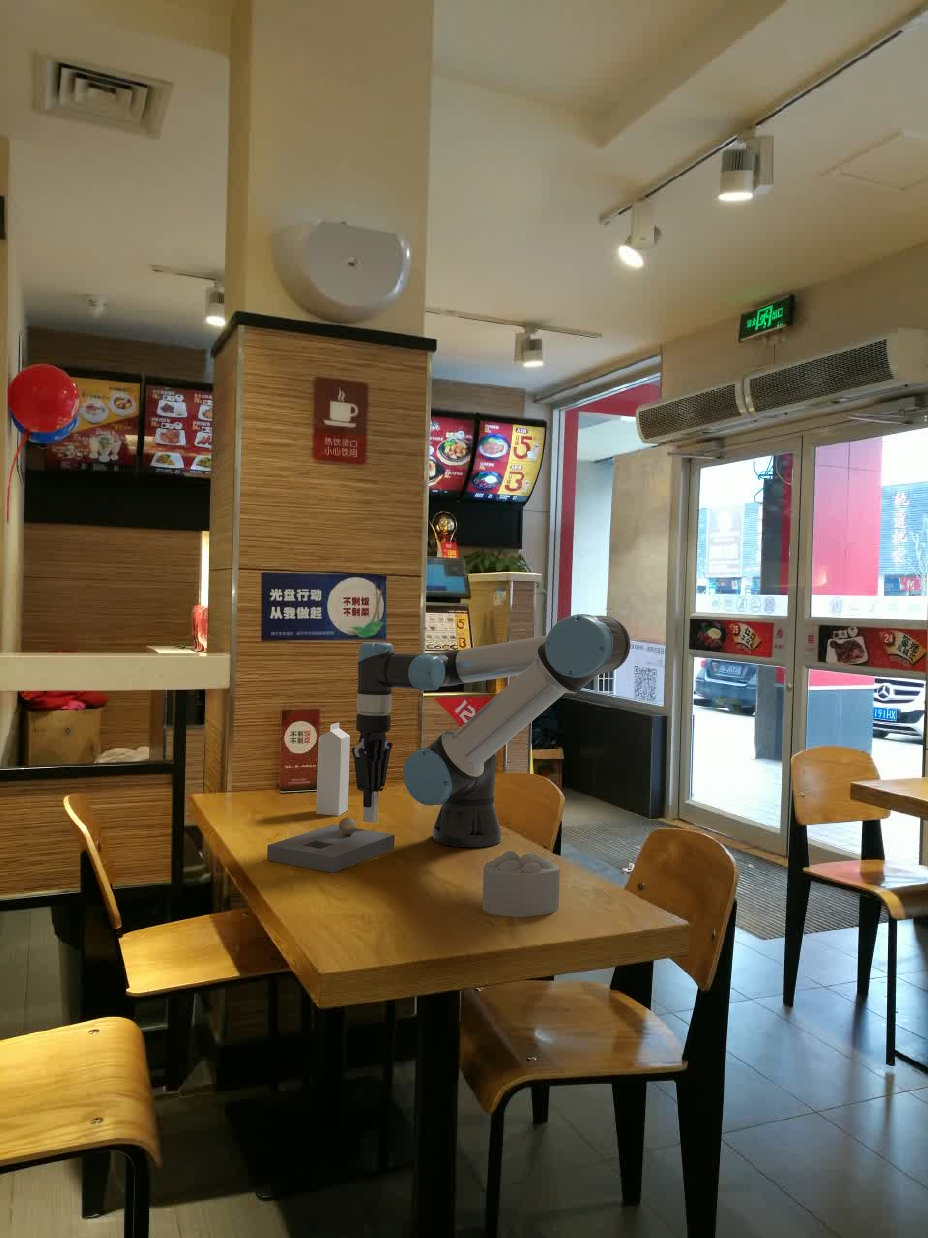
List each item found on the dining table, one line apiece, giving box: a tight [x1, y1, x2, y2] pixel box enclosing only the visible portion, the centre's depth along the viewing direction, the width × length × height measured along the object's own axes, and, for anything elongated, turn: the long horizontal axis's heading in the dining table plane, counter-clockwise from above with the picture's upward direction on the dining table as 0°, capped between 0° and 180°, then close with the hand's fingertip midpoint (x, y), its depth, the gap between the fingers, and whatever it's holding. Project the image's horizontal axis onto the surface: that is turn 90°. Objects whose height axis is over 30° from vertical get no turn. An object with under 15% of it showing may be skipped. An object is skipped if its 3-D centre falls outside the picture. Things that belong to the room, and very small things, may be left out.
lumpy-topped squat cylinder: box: [481, 850, 561, 918], centre depth 161 cm, size 10×13×9 cm
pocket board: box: [266, 824, 396, 874], centre depth 191 cm, size 16×22×3 cm
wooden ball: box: [338, 817, 357, 835], centre depth 196 cm, size 4×4×4 cm
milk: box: [315, 722, 351, 817], centre depth 230 cm, size 6×6×22 cm
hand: (369, 821), depth 204 cm, fingers closed
